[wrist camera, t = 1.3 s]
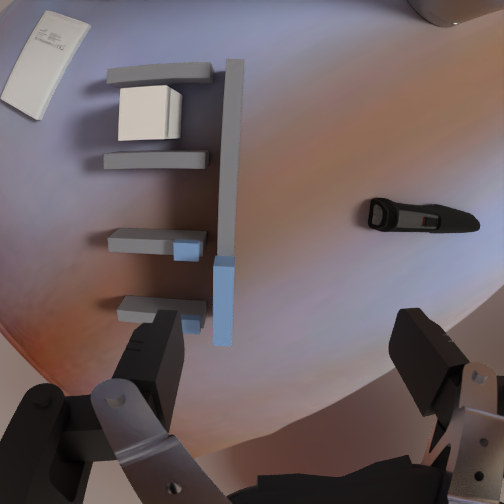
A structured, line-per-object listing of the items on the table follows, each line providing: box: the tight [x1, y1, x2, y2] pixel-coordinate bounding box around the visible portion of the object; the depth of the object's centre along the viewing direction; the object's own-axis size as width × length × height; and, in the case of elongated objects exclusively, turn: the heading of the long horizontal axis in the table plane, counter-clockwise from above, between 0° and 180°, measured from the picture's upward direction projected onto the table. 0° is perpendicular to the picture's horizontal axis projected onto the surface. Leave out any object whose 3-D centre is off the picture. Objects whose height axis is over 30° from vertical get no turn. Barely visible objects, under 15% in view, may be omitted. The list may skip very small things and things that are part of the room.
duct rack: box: [104, 59, 244, 346], centre depth 28 cm, size 27×13×7 cm, turn 177°
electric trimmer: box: [368, 198, 480, 233], centre depth 32 cm, size 4×16×3 cm, turn 87°
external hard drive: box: [0, 10, 92, 120], centre depth 25 cm, size 2×8×12 cm
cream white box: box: [118, 85, 183, 141], centre depth 25 cm, size 4×4×7 cm
